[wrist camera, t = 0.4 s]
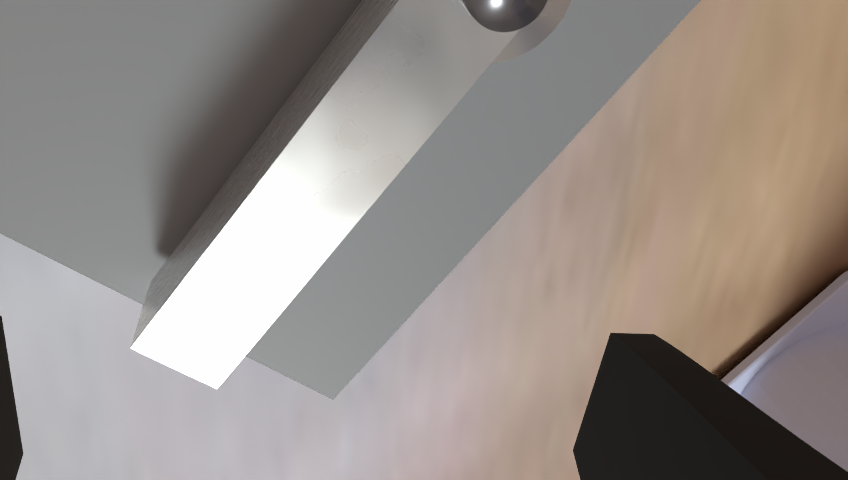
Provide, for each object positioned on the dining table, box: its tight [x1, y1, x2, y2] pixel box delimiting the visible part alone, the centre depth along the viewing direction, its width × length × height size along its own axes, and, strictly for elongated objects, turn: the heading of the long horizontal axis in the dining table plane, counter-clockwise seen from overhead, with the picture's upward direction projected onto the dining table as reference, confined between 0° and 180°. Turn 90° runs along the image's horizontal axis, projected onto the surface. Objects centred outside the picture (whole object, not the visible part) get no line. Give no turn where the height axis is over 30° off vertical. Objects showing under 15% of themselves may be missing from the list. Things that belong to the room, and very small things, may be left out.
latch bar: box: [131, 0, 572, 389], centre depth 14 cm, size 12×3×4 cm, turn 140°
